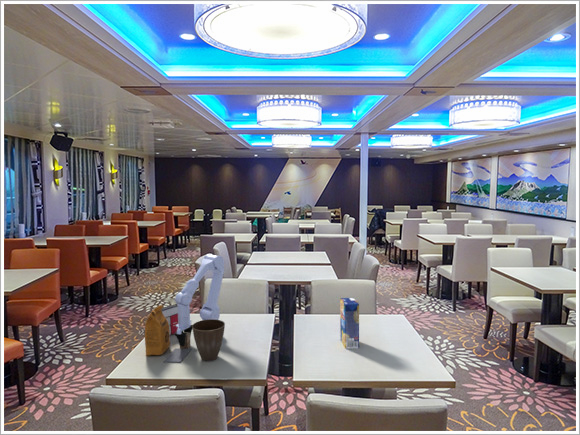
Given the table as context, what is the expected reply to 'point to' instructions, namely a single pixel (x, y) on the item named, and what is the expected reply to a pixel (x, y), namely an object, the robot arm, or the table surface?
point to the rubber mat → (177, 355)
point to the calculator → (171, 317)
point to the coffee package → (156, 333)
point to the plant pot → (208, 338)
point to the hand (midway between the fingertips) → (184, 342)
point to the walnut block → (186, 341)
